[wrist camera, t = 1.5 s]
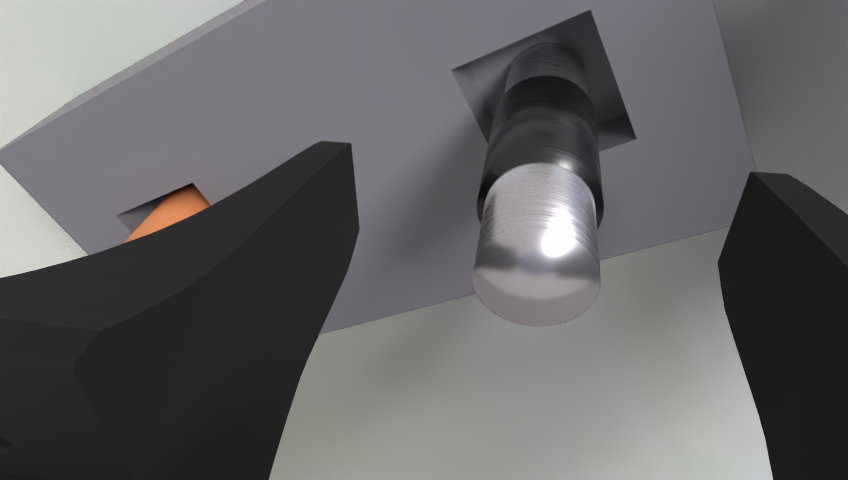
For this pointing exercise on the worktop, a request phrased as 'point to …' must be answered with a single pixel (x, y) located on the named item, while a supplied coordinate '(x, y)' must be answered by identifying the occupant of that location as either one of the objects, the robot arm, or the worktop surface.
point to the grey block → (399, 127)
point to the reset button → (172, 210)
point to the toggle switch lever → (541, 193)
